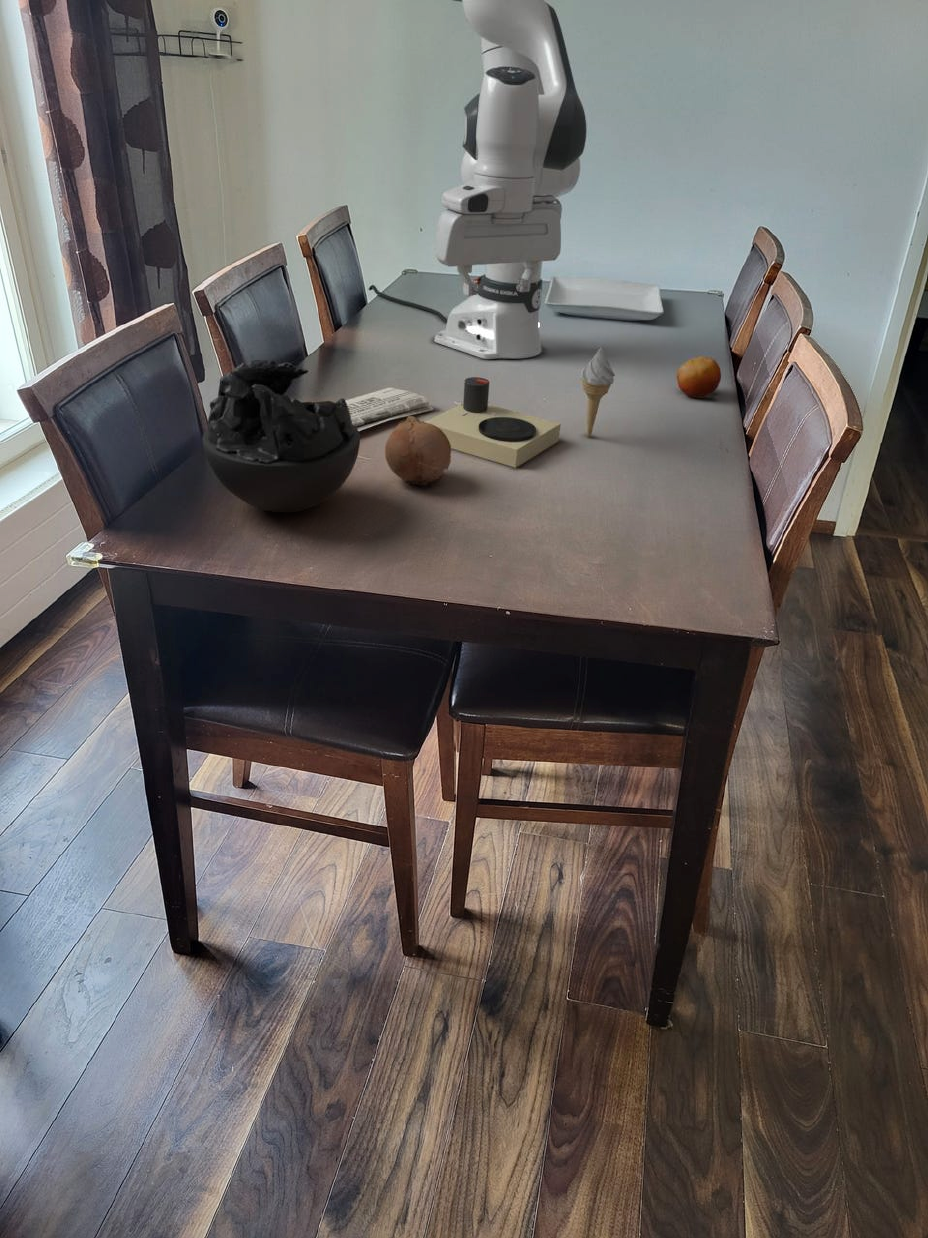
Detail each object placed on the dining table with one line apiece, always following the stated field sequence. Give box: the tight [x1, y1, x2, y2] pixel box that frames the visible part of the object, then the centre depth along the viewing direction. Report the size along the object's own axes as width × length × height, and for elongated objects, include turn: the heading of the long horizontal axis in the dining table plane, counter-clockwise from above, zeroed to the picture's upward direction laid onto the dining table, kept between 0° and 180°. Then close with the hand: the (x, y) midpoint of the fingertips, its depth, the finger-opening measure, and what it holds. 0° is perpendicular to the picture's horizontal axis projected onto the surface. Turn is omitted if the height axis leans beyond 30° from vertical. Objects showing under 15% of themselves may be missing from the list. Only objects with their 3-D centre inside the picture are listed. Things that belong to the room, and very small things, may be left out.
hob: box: [424, 401, 561, 469], centre depth 148 cm, size 18×15×3 cm
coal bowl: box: [201, 358, 361, 513], centre depth 120 cm, size 20×20×19 cm
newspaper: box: [345, 386, 434, 432], centre depth 154 cm, size 23×12×2 cm, turn 138°
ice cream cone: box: [579, 345, 616, 438], centre depth 148 cm, size 6×6×15 cm
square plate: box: [544, 275, 665, 322], centre depth 223 cm, size 27×27×4 cm
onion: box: [384, 415, 452, 486], centre depth 132 cm, size 10×9×10 cm
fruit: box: [676, 356, 722, 399], centre depth 172 cm, size 8×8×8 cm
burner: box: [478, 417, 536, 442], centre depth 144 cm, size 9×9×1 cm
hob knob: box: [462, 376, 490, 413], centre depth 150 cm, size 4×4×5 cm
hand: (496, 293), depth 144 cm, fingers open, 8 cm apart
